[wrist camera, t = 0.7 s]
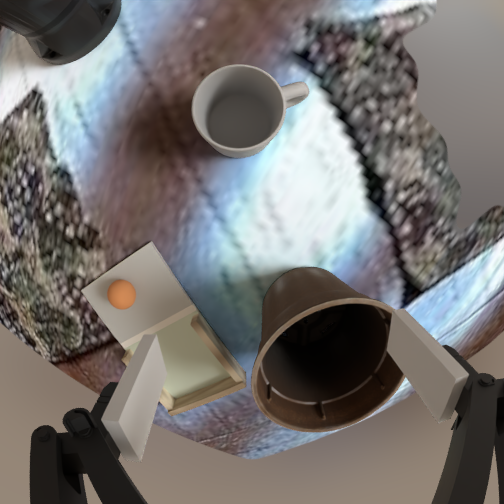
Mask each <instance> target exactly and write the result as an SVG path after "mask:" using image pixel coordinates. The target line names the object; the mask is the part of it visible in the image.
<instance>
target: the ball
mask: <svg viewBox="0 0 504 504" xmlns="http://www.w3.org/2000/svg"><path fill="white" fill-rule="evenodd" d="M107 297H108V300H109V302H110V304H111V305H112V306H113V307H115V308H117V309H120V310H124V309H128V308H129V307H131V306H132V305H133V304H134V302H135V299H136V291H135V288H134V286H133V285H132V284H131V283H130V282H128V281H126V280H116V281H114V282H113V283H112V284H111V285H110V286H109V288H108V291H107Z"/></svg>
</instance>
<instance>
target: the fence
mask: <svg viewBox="0 0 504 504" xmlns="http://www.w3.org/2000/svg"><path fill="white" fill-rule="evenodd" d="M204 319H205V318H204ZM204 319H203V318H202V317H201V315H200V314H199V313H198V314H196V315H194V316H193V317H192V320H191V324H190V325H191V326H192V327H193V329H194V330H195V331H196V333H197V334H198V335H199V337H200V338H201V339H202V341H203V342H204V343H205V344H206V346H207V347H208V348H209V350H210V351H211V352H212V353H213V355H214V356H215V357H216V358H217V360H218V361H219V362H220V363H221V365H222V366H223V367H224V368H225V370H226V371H227V372H228V373H229V374H230V377H228V378H225V379H223V380H221V381H218V382H216V383H214V384H211V385H209V386H207V387H204V388H202V389H199V390H197V391H195V392H192V393H190V394H187V395H185V396H182V397H180V398H177V399H175V398H174V397H173V396H172V395H171V394H170V393H169V392H168V391H167V390H166V389H165V388H164V387H163V389H162V392H161V395H160V399H159V402H160V403H161V404H162V405H163V406H164V407H165V408H166V409H167V410H168V413H169V414H170V415H171V416H174V415H176V414H179V413H182V412H185V411H188V410H190V409H193V408H196V407H198V406H201V405H204V404H206V403H209V402H211V401H214V400H216V399H219V398H221V397H224V396H226V395H229V394H231V393H233V392H236V391H238V390H240V389H243V388H245V387H246V372H245V371H244V370H243V368H242V367H241V366H240V365H239V363H238V362H237V361H236V359H235V358H234V357H233V356H232V354H231V353H230V352H229V350H228V349H227V348H226V346H225V345H224V344H223V342H222V341H221V340H218V339H220V338H219V337H218V336H217V335H216V336H217V337H218V338H217V337H216V336H215V334H214V333H215V332H214V333H213V332H212V330H213V329H212V328H211V329H212V330H211V329H210V328H209V326H208V325H207V324H206V322H205V321H204ZM207 323H208V322H207ZM210 327H211V326H210ZM220 341H221V342H222V344H223V345H224V346H223V345H222V344H221V342H220ZM224 347H225V348H224ZM228 352H229V353H228ZM133 354H134V352H133V351H132V350H131V349H129V350H127V351H126V352H125V354H124V356H123V358H122V359H121V360H122V361H123V362H124V363H125V365H126V366H128V364H129V362H130V360H131V358H132V356H133ZM231 356H232V357H231Z"/></svg>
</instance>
